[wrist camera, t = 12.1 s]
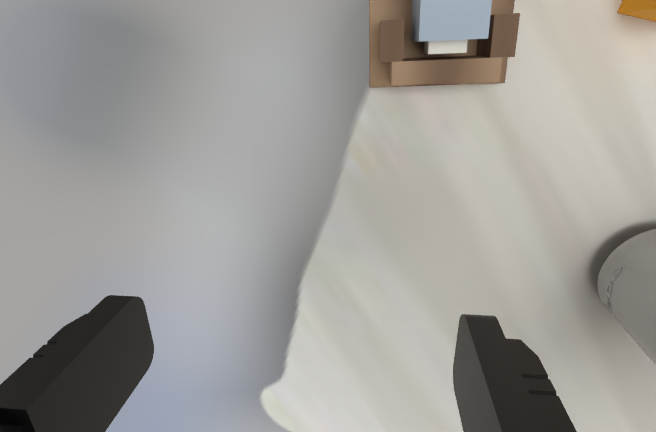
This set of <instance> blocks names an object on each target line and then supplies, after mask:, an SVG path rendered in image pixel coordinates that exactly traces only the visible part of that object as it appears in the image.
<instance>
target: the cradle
mask: <svg viewBox="0 0 656 432" xmlns="http://www.w3.org/2000/svg"><path fill="white" fill-rule="evenodd" d="M369 1H370V2H369V10H370V11H369V24H370V25H369V26H370V28H369V32H370V87H399V86H428V85H458V84H487V83H505V76H506V67H507V59H508V57H515V49H516V41H517V33H518V25H519V17H520V13H515V14H513V9H514V1H515V0H492V6H491V15H490V25H489V35H488V39H468V42H467V53H447V54H426V53H424V44H425V41H421V42H418V41H411V21H412V0H369Z"/></svg>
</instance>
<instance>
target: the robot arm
mask: <svg viewBox="0 0 656 432" xmlns="http://www.w3.org/2000/svg"><path fill="white" fill-rule="evenodd" d="M597 287H598V294H599V296H600V298H601V300H602V303H603V304H604V305H605V306H606V307H607V308H608V310H609V311H610V312H611V313H612V314H613V315H614V317H615V318H616V319H617V320H618V321H619V322H620V324H621V325H622V326H623V327H624V328H625V330H626V331H627V332H628V333H629V334H630V336H631V337H632V338H633V339H634V340H635V342H636V343H637V344H638V345H639V346H640V347H641V349H642V350H643V351H644V352H645V353H646V354H647V355H648V357H649V358H650V359H651V360H652V361H653V362H654V364H655V365H656V229H652V230H649V231H646V232H643V233H640V234H638V235H636V236H634V237H632V238H630V239H628V240H627V241H625V242H624V243H622V244H621V245H620V246H618V247H617V248H616V249H615V250H614V251H613V252H612V253H611V254H610V255H609V256H608V258H607V259H606V261H605V262H604V264H603V265H602V267H601V270H600V273H599V275H598V283H597ZM153 353H154V344H153V340H152V335H151V331H150V327H149V322H148V318H147V313H146V309H145V305H144V302H143V300H142V299H141V298H140V297H133V296H114V295H110V296H107V297H105V298H104V299H103V300H102V301H101V302H100V303H99V304H98V305H97V306H95V307H94V308H93V309H92V310H91V311H90V312H89V313H88V314H85V315H83V316H81V317H80V318H78V319H76V320H74V321H73V322H71V323H69V324H67V325H66V326H64V327H63V328H62V329H61V330H60V331H58V332H57V333H56V334H55V335H54V336H53V337H52V338H51V339H50V340H49V341H48V343H47V345H43V346H42V347H41V348H40V349H39V350H38V351H37V352H36V353H34V356H33V358H29V359H28V360H27V361H26V362H25V363H24V364H22V365H21V366H20V367H19V368H18V369H17V370H16V371H15V372H14V373H13V374H12V375H10V376H9V377H8V378H7V379H6V380H5V381H4V382H3V383H2V384H1V385H0V432H105V431H106V429H107V428H108V427H109V425H110V424H111V422H112V421H113V419H114V418H115V416H116V415H117V414H118V412H119V411H120V409H121V408H122V406H123V405H124V404H125V402H126V400H127V399H128V398H129V396H130V395H131V393H132V392H133V391H134V389H135V388H136V386H137V385H138V383H139V382H140V380H141V379H142V378H143V376H144V375H145V373H146V372H147V370H148V369H149V367H150V364H151V362H152V359H153ZM453 382H454V390H455V395H456V400H457V404H458V409H459V413H460V418H461V422H462V427H463V431H464V432H577V431H576V430H575V428H574V426H573V424H572V422H571V420H570V418H569V416H568V414H567V412H566V410H565V408H564V406H563V404H562V402H561V400H560V398H559V396H557V395H556V390H555V389H554V387H553V385H552V383H551V381H550V379H548V375H547V373H546V371H545V369H544V367H543V365H542V363H541V361H540V359H539V357H538V356H537V355H536V354H535V353H534V352H533V351H532V350H531V349H530V348H529V347H527V346H526V345H525V344H524V343H523V342H522V341H521V340H518V339H506V338H505V336H504V334H503V331H502V329H501V327H500V324H499V322H498V320H497V318H496V317H495V316H486V315H466V314H462V315H461V317H460V320H459V327H458V335H457V342H456V350H455V357H454V365H453Z"/></svg>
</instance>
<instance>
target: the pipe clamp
mask: <svg viewBox="0 0 656 432" xmlns="http://www.w3.org/2000/svg"><path fill="white" fill-rule="evenodd" d="M617 13H620V14H624V15H629V16H633V17H637V18H642V19H646V20H651V21H655V22H656V0H623V1H622V4H621V6H620V8H619V10H618V12H617Z"/></svg>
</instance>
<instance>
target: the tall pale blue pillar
mask: <svg viewBox="0 0 656 432" xmlns="http://www.w3.org/2000/svg"><path fill="white" fill-rule="evenodd" d="M491 6H492V0H412V21H411V41H418V42H421V41H425V44H424V53H426V54H447V53H467V42H468V39H488V35H489V25H490V15H491Z"/></svg>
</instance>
